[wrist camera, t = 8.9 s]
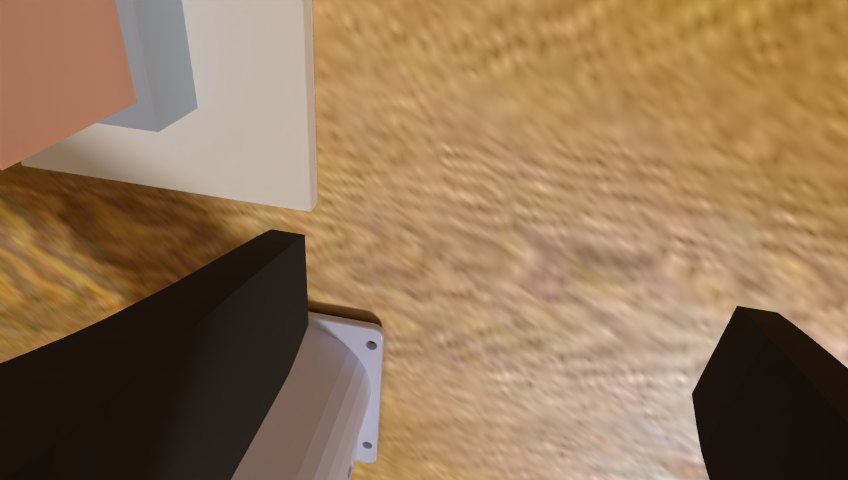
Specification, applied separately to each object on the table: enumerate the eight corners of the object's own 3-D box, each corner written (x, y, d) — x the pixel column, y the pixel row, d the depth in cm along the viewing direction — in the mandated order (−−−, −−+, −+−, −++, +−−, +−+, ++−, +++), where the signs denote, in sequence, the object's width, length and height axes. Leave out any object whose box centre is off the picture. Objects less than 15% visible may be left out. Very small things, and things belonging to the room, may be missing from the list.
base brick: (198, 108, 19) (158, 132, 17) (41, 85, 19) (-15, 106, 17) (168, -93, 16) (114, -92, 14) (-19, -113, 16) (-96, -114, 14)
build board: (317, 202, 21) (310, 212, 20) (37, 157, 22) (22, 165, 22) (307, -141, 15) (298, -143, 14) (-74, -177, 16) (-100, -181, 16)
